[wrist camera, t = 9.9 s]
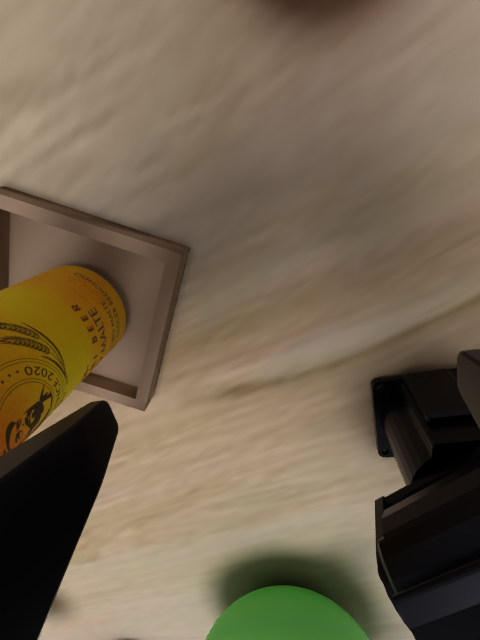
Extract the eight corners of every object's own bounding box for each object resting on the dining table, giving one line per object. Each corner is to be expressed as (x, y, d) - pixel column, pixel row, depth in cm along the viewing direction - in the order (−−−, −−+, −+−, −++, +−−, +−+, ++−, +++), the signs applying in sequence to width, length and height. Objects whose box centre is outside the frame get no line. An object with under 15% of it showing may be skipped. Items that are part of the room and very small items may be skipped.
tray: (189, 247, 21) (181, 254, 19) (153, 395, 25) (144, 411, 24) (4, 186, 20) (-20, 187, 19) (2, 347, 25) (-17, 360, 24)
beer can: (125, 358, 24) (-87, 614, 10) (40, 334, 24) (-289, 557, 10) (137, 277, 21) (-122, 469, 8) (42, 250, 21) (-392, 392, 7)
